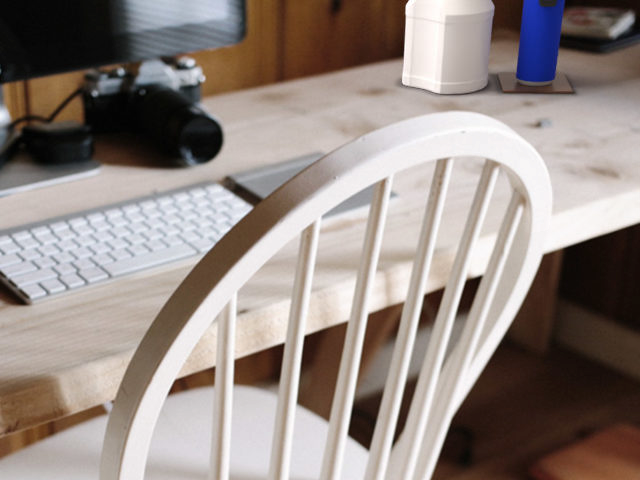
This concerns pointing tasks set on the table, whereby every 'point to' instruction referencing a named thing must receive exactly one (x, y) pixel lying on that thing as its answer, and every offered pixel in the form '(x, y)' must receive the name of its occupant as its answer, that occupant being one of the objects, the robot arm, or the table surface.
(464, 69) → the jar
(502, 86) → the coaster
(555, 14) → the beverage can
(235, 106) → the table surface
